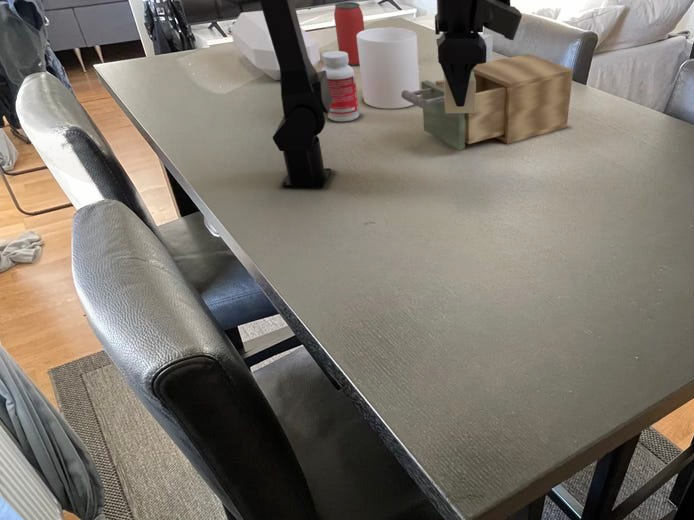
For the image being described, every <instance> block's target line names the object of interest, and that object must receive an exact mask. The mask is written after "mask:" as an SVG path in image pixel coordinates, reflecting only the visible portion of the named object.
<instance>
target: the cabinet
mask: <svg viewBox="0 0 694 520" xmlns="http://www.w3.org/2000/svg"><path fill="white" fill-rule="evenodd" d="M471 72H474V74H476V75H479V76H481V77H484V78H486V79H488V80H491V81H493V82H496V83H498V84H500V85H503V86H505V87H507V98H506V123H505V134H504V135H501V136H497V137H494V138H495V139H497V140H499V141H501V142H503V143H505V144H507V145H508V144H512V143H515V142H519V141H523V140H527V139H530V138H534V137H538V136H541V135H544V134H548V133H552V132H556V131H559V130H562V129H566V128H568V121H569V112H570V111H569V110H570V101H571V93H572V84H573V74H574V69H572V68H570V67H567V66H564V65H561V64H559V63H555V62H553V61H550V60H547V59H545V58H542V57H539V56H536V55H532V54H529V53H526V54H521V55H517V56H511V57H506V58H501V59H494V60H492V61H489V62H486V63H483V64H477V65H476V66H475V67H474V68H473V69H472V71H471Z"/></svg>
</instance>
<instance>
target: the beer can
mask: <svg viewBox="0 0 694 520" xmlns="http://www.w3.org/2000/svg"><path fill="white" fill-rule="evenodd" d="M334 7H335V8H334V13H333V17H334V24H335V32H336V40H337V47H338V51H342V52H346V53H348V58H349V62H348V65H349V66H360V62H359V54H358V45H357V36H356V35H357V34H358V33H359V32H361V31H363V30H365V22H364V15H363V12H362V9H361V7H360V4H359V2H354V1H343V2H338V3H336V4H334Z"/></svg>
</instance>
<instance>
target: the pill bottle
mask: <svg viewBox="0 0 694 520" xmlns="http://www.w3.org/2000/svg"><path fill="white" fill-rule="evenodd" d="M321 56H322V57H321V58H322V63H323V65H324V66H323V67H322V68H321V70H320V72H321V71H324V70H325V71H326V74H327V84H328V88H329V91H330V93H331V94H332V96H333V101H332V103H331V106H330V112H329V115H328V119H329V120H331V121H334V122H350V121H353V120H356V119H358V118H359V116H360V107H359V100H358V99H359V98H358V92H357V91H358V90H357V85H356V84H357V82H356V77H355V71H354V69H353V67H352V66H351V65H348V62H349V58H348V53H346V52H342V51H339V50H332V51H326V52H323V53H322V54H321Z"/></svg>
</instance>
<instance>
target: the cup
mask: <svg viewBox="0 0 694 520" xmlns="http://www.w3.org/2000/svg"><path fill="white" fill-rule="evenodd" d="M356 36H357V45H358V54H359V62H360V65H359V68H360V78H361V87H362V96H363V101H364V103H365V104H366V105H368V106H370V107H373V108H377V109H386V110H387V109H388V110H392V109H393V110H394V109H404V108H407V107H411V106H414V104H413V103H411V102H409V101H407V100H405V99H403V98H402V96H401V94H402V92H403V91H404V90H407V91H409V92H413V91H417V90H421V88H420V72H419V70H420V69H419V53H418V34H417V33H416V32H415V31H414V30H412V29H408V28H403V27H389V26H388V27H386V26H385V27H384V26H383V27H374V28H368V29H364V30H363V31H361V32H359V33H358V34H357V35H356ZM417 96H419V97H421V95H417Z"/></svg>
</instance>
